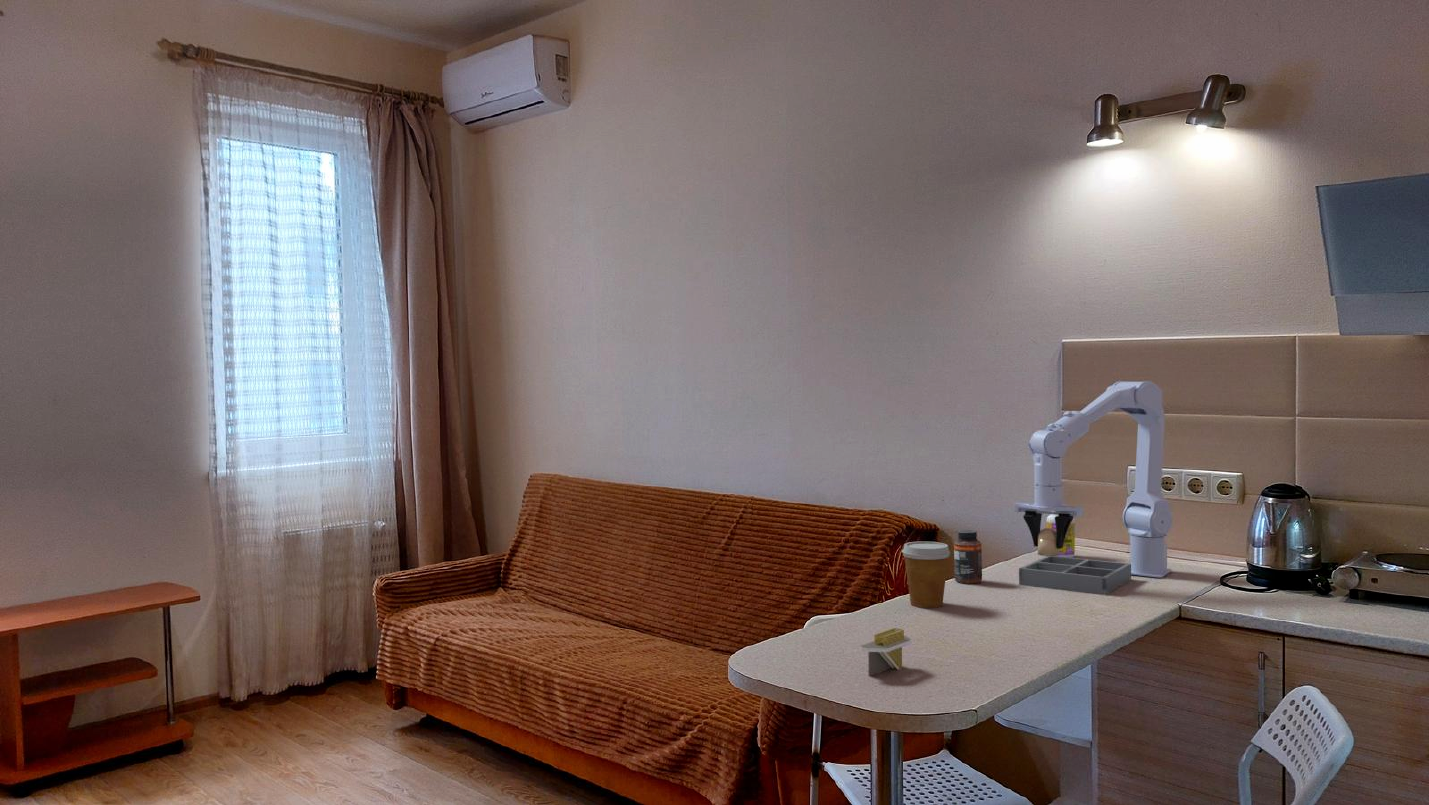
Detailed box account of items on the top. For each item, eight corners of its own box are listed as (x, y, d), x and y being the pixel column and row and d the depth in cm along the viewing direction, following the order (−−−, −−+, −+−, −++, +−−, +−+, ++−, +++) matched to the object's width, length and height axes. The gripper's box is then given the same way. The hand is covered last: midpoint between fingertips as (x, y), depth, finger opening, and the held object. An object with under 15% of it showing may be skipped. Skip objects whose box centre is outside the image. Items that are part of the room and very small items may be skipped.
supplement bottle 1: (979, 578, 222) (979, 528, 221) (984, 584, 216) (984, 533, 215) (952, 578, 222) (952, 528, 222) (956, 584, 216) (956, 533, 216)
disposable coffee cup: (955, 601, 200) (954, 542, 200) (945, 611, 192) (944, 550, 191) (908, 597, 204) (908, 540, 204) (897, 607, 196) (896, 547, 195)
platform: (952, 669, 156) (952, 627, 156) (887, 696, 143) (887, 651, 143) (889, 655, 165) (888, 616, 165) (822, 679, 152) (822, 637, 152)
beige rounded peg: (1041, 551, 219) (1041, 526, 219) (1061, 554, 216) (1061, 527, 216) (1034, 555, 215) (1034, 528, 215) (1054, 557, 213) (1054, 530, 212)
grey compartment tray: (1048, 570, 230) (1048, 555, 230) (1131, 579, 218) (1131, 563, 218) (1019, 584, 215) (1019, 568, 215) (1106, 594, 204) (1106, 578, 204)
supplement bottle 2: (1047, 558, 244) (1047, 507, 243) (1045, 554, 250) (1045, 503, 250) (1076, 559, 242) (1075, 507, 242) (1073, 554, 248) (1073, 504, 248)
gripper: (1008, 484, 217) (1009, 546, 217) (1075, 488, 208) (1076, 553, 208) (1020, 481, 222) (1021, 541, 223) (1086, 485, 213) (1086, 548, 214)
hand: (1048, 547), depth 216 cm, fingers closed on beige rounded peg, 4 cm apart
